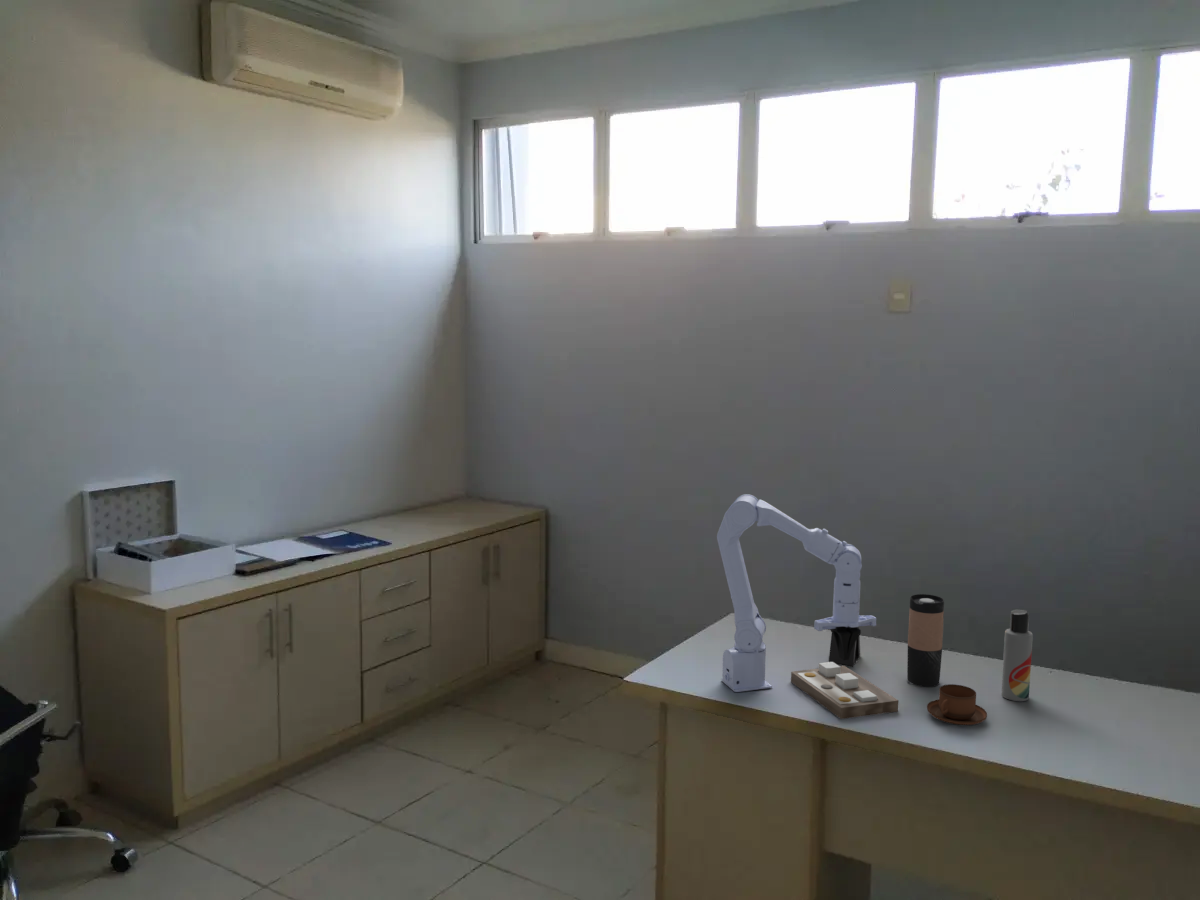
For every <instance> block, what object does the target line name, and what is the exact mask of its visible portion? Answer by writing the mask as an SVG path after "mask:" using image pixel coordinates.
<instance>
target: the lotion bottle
mask: <svg viewBox="0 0 1200 900" xmlns="http://www.w3.org/2000/svg"><path fill="white" fill-rule="evenodd" d="M1009 618H1010V620H1009V628H1006V629H1005V631H1004V642H1003V644H1004V645H1003V658H1002V659H1003V661H1002V676H1001V678H1002V679H1001V696H1002V697H1003V698H1005V699H1007V700H1009V701H1014V702H1025V701H1028V700H1029V697H1030V689H1031V687H1030V684H1031V669H1032V653H1033V640H1034V638H1033V637H1034V635H1033V633H1032V631H1029V627H1030V626H1029V623H1030V613H1029V612H1028V610H1026V609H1013V610H1011V611H1010V617H1009Z"/></svg>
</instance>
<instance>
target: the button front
mask: <svg viewBox="0 0 1200 900" xmlns="http://www.w3.org/2000/svg"><path fill="white" fill-rule="evenodd" d="M853 696H854V697H855V698H857V699H858V700H860V701H861V702H868V701H875V700H877V696H876V695H875V694H873V693H872V692H870V691H869V690H865V691H857V692H853Z"/></svg>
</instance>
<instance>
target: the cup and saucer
mask: <svg viewBox="0 0 1200 900" xmlns="http://www.w3.org/2000/svg"><path fill="white" fill-rule="evenodd" d="M938 690H939V691H938V699H934V700H931V701H929V702H928V703H927V704H926V708H927V712H928V713H929V714H930V715H931V716H932V717H933V718H935V719H937V720H939V721H941V722H943V723H946V724H951V725H954V726H973V725H978V724H981V723H983V722H984V721H986V720H987V716H988V712H987V711H986V709H984V708H983V707H982V706H980V705H979V704H976V703H977V692H976V690H974V689H973V688H971V687H969V686H966V685H961V684H953V683H952V684H950V683H949V684H944V685H941V686H940V687H939V689H938Z"/></svg>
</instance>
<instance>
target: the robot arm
mask: <svg viewBox="0 0 1200 900" xmlns="http://www.w3.org/2000/svg"><path fill="white" fill-rule="evenodd" d="M755 522H757V523H756V527H764V526H772V527H774V528H775V529H777V530H779V531H781V532H783V533H785V534H786V535H789V536H791V537H793V538H794V539H796V540H798V541H800V542H801V543H802V545H803V549H804V550H805V551H806V552H807V553H809V554H811V555H813V556H815V557H816V558H818V559H820V560H821V561H823V562H825V563H827V564H828V565H833V566H834V569H835V577H834V580H833V601H832V616H829V617H825V618H821V619H816V620H815V619H814V623H813V624H814V626H813V627H814V630H816V631H818V632H822V631H823V630H824V631H825V630H829V631H830V632H831V635H832V634H833V636H834V639H835V641H836V644H837V648H838V653H839V658H841V659H843V660H849V657H850V654H851V651H852V648H853V646H854V644H855V642H856V640H857V638H858V637H859V636H861V633H862V630H861V629H860V628H859V629H858V626H859V627H867V626H871V627H877V617H875V616H874V615H860V601H861V584H862V583H861V580H860V579H861V571H862V568H863V564H862V554H861V552H860V550H859V549H858V548H857V547H855V545H854V544H851V543H848V542H847V541H845V540H843V541H841V540H839V539H838V538H836V537H835V536H833V535H831V534H829V530H827V528H822V529H821V528H819V527H815V528H808V527H806V526H805V525H803V524H802V523H800V522H799V521H797V520H796V519H793V518H792V517H791V516H789V515H788V514H786V513H784V512H783V511H781V510H780V509H778V508H776V507H775V506H774V505H772V504H770V503H769V502H766V501H765V500H762V499H761V498H760V499H758V498H757V497H756V496H755V495H752V494H748V493H747V494H746V493H744V494H741V495H739V496H738V497H736V499H735V500H734V501H733V502H732V503H731V505H729V507H728V509H727V510H726V511H725V512H724V515H723V518H722V521H721V523H720V526H719V528H718V531H717V533H716V541H717V544H718V549H719V554H720V557H721V560H722V564H723V565H722V566H723V569H724V573H725V578H726V581H727V586H728V590H729V593H730V598H731V601H732V607H733V610H734V611H733V612H734V624H735V633H734V646H732V647H731V648H728V649H725V650H724V651H723V654H722V677H721V678H720V680H721V681H722V683H724V684H725V685H726V686H727V687H728V688H729V689H731V690H732V691H733V692H735V693H739V692H741V693H742V692H747V691H748V692H749V691H757V690H764V689H766V690H767V689H771V688H773V685H772V684H770V683H769V682H768V681H767V680H766V655H767V654H766V652H767V651H766V649H767V646H766V645H767V644H765V642H764V641H763V637H764V636H765V633H766V630H767V625H766V622H765V620H764V619H763V618H762V616H761V615H760V612H759V609H758V607H757V605H756V603H755V601H754V596H753V592H752V587H751V584H750V579H749V575H748V571H747V568H746V567H747V566H746V563H745V558H744V554H743V549H742V545H741V542H740V538H741V536H742V535H743V533H744V532H745V531H746V530H747V529H749V528H750V527H752V526H753V525H754V524H755Z"/></svg>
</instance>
